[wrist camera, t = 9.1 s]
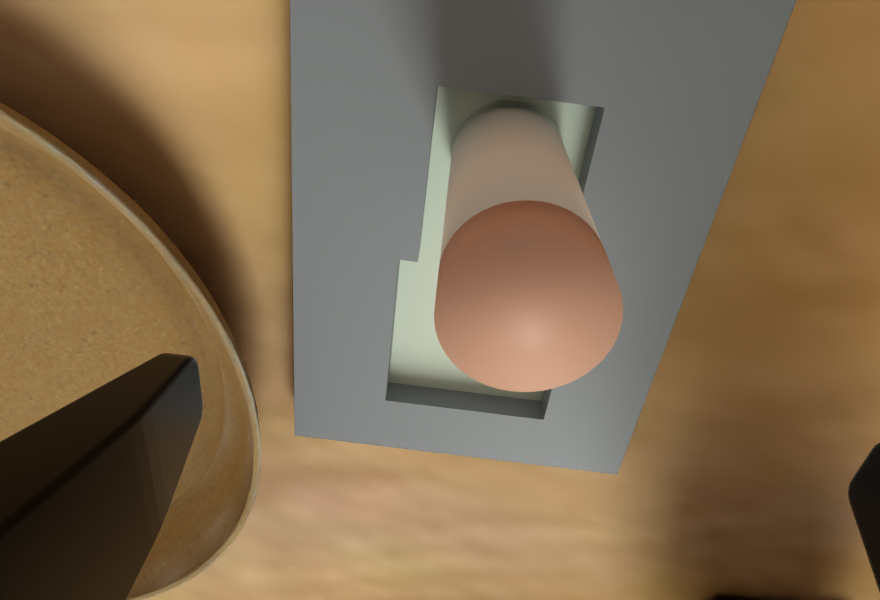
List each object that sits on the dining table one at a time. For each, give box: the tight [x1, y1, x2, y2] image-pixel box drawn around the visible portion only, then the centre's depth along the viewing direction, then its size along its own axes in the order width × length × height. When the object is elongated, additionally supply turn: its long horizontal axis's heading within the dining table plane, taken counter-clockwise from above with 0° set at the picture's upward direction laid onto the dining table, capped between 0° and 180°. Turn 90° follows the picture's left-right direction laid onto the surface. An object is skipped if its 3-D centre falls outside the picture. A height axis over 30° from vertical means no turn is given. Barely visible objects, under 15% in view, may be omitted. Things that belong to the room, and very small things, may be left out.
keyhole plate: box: [290, 0, 796, 474], centre depth 19 cm, size 16×12×1 cm
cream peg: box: [434, 100, 623, 392], centre depth 14 cm, size 3×3×9 cm
